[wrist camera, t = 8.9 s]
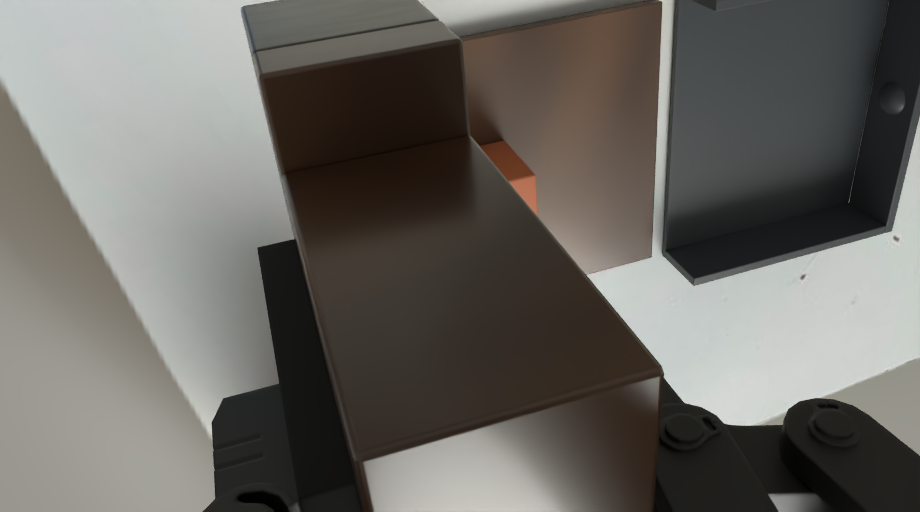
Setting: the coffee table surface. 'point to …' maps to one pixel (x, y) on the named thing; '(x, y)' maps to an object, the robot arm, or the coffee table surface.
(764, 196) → the dustpan
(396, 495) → the brown flat block
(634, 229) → the board
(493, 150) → the block
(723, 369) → the coffee table surface
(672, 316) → the coffee table surface
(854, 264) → the coffee table surface
